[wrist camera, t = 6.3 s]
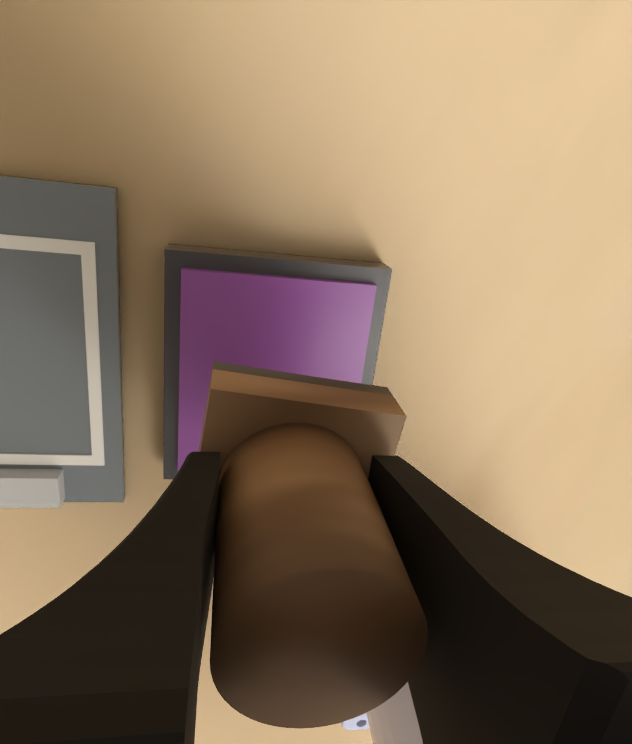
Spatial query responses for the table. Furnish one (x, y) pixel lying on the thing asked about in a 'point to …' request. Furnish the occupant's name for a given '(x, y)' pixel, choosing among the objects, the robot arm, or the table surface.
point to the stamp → (305, 550)
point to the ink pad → (261, 325)
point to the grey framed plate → (59, 345)
